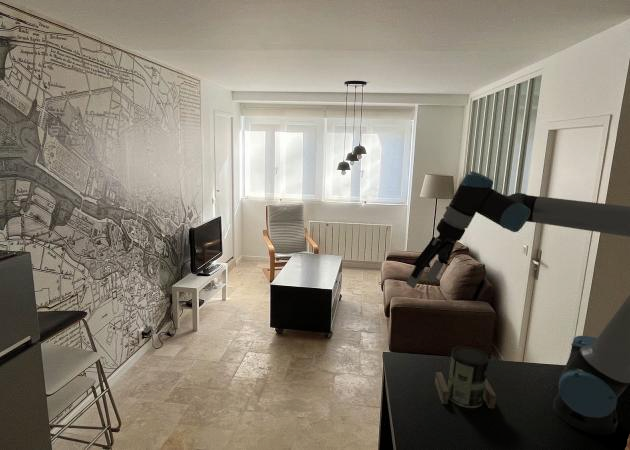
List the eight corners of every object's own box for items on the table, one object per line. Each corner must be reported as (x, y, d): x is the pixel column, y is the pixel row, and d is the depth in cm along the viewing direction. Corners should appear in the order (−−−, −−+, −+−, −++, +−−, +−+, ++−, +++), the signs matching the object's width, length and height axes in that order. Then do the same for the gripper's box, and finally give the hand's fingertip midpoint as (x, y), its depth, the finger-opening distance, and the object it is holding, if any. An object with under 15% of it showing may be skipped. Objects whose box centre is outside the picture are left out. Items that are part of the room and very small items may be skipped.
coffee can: (479, 390, 125) (485, 348, 122) (485, 411, 115) (492, 366, 112) (444, 384, 127) (449, 343, 124) (448, 405, 117) (453, 360, 114)
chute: (483, 387, 126) (484, 376, 125) (494, 408, 116) (496, 395, 115) (434, 383, 127) (436, 371, 126) (442, 403, 117) (443, 391, 116)
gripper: (459, 215, 129) (428, 269, 136) (424, 218, 110) (390, 281, 118) (480, 227, 124) (447, 282, 132) (447, 233, 106) (411, 297, 114)
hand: (420, 282), depth 125 cm, fingers open, 13 cm apart
